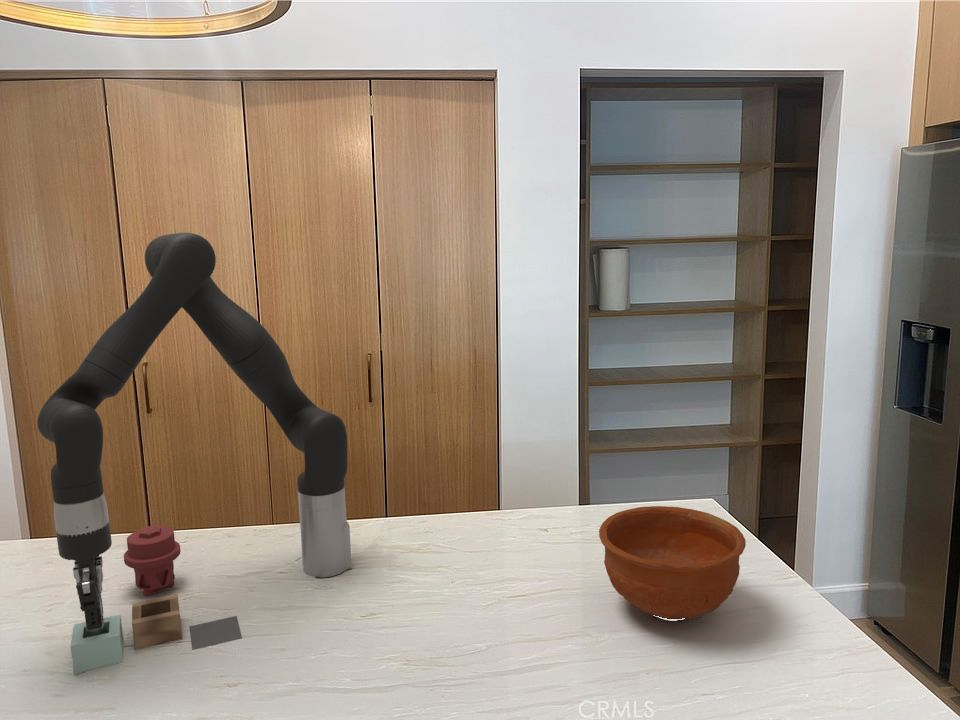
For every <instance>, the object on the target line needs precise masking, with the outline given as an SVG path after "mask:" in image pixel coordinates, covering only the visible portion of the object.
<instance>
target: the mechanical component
mask: <svg viewBox="0 0 960 720" xmlns="http://www.w3.org/2000/svg"><path fill="white" fill-rule="evenodd" d="M126 546H127V550H126V551H125V552H124V553H123V563H124V565H125V566H127V567H128V568H130V569H133V571H134V578H135V579H134V581H135V586H136V587H135V588H137V589H139V590H142V594H143V596H144V597H150V596H152V595H153V594H155V593H159V592H161V591H164V590H168V589H171V588H174V587H175V585H176V584H175V578H176V576H175V571H174V570H175V568H174V566H175V565H174V561H175V560H176V559H178V557H179V556H180V555H181V552H182V551H181V545H180V543H179V542H177V541H176V540H175V531H174V528H172V527H170V526H169V527H168V526H163V525H161V526H160V525H148V526H145V527H143V528H140V529H138V530H136V531H134V532H132V533H130V534H129V535H128V536H127V538H126Z"/></svg>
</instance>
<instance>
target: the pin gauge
mask: <svg viewBox="0 0 960 720" xmlns="http://www.w3.org/2000/svg"><path fill="white" fill-rule="evenodd" d="M99 596H100V601H101V598H102V593H101V592H100V593H99ZM89 601H91V600H89ZM102 606H103V602H102V603H101V604H100V609H101V617H102V627H101V628H98V629H93V630H88V629H87V626H86V629H87V636H88V637H91V636H96V635H101V634H105V626H104V618H105V617H104V609H103V610H102ZM83 613H84V615H85V611H83ZM84 622H86V619H85V618H84Z"/></svg>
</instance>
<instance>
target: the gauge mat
mask: <svg viewBox="0 0 960 720" xmlns="http://www.w3.org/2000/svg"><path fill="white" fill-rule="evenodd" d="M188 627H189V628H188V629H189V635H190V644H191V650H192V651H194V650H198V649H204V648H207V647H211V646H212V647H213V646H216V645H220V644H225V643H229V642H233V641H236V640H241V639H243V635H242V631H241V627H240V623H239V620H238V617H237V615H234V616H229V617H224V618H220V619H216V620H213V621H208V622H207V621H206V622H204V623H203V622H202V623H199V624H194V625H189V626H188Z"/></svg>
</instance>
